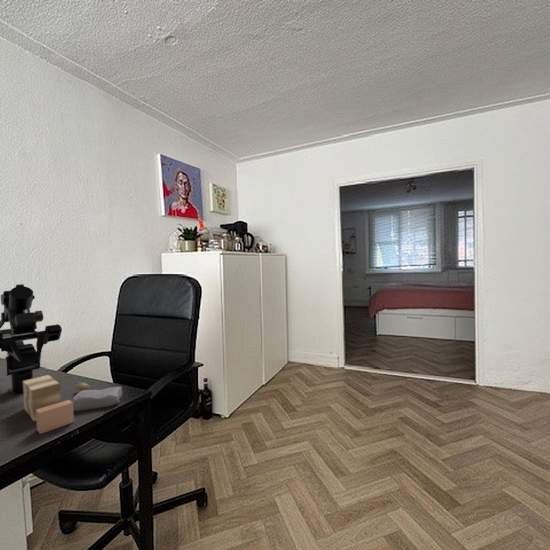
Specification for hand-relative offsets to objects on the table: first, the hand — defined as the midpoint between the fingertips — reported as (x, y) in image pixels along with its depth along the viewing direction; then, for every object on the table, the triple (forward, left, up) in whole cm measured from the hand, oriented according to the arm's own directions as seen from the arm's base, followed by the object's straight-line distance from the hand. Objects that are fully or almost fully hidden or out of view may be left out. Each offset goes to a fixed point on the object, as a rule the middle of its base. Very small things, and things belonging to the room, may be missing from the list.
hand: (30, 358), depth 93 cm
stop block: (+25, -4, -13) cm, 29 cm away
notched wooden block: (+12, -2, -13) cm, 17 cm away
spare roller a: (+9, +10, -13) cm, 19 cm away
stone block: (+21, +9, -13) cm, 26 cm away
